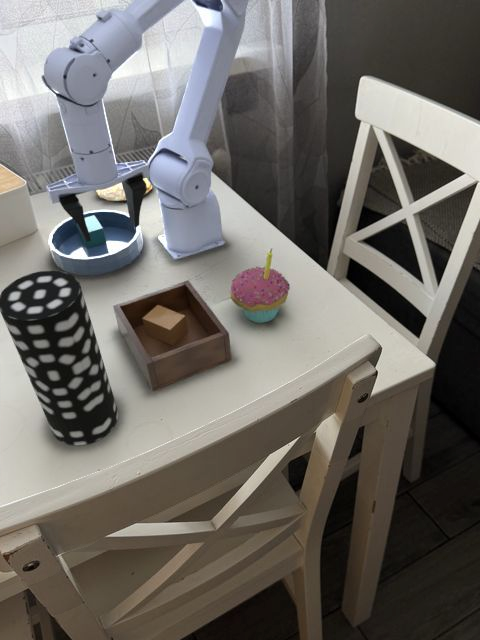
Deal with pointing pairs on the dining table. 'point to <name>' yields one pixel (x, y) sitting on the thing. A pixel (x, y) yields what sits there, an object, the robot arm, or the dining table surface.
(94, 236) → the teal block
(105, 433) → the white-spotted black cylinder
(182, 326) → the brown block
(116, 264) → the bowl
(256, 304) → the cupcake
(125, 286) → the dining table surface
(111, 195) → the bread roll
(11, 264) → the dining table surface
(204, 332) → the holder
